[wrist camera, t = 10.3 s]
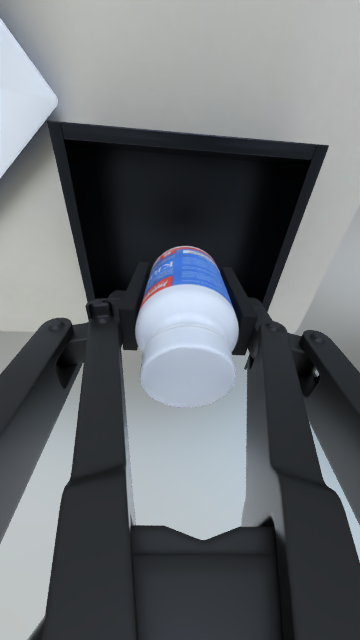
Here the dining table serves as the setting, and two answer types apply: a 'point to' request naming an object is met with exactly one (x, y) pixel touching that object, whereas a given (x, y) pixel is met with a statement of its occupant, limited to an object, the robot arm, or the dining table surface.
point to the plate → (20, 99)
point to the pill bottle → (186, 330)
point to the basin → (181, 201)
